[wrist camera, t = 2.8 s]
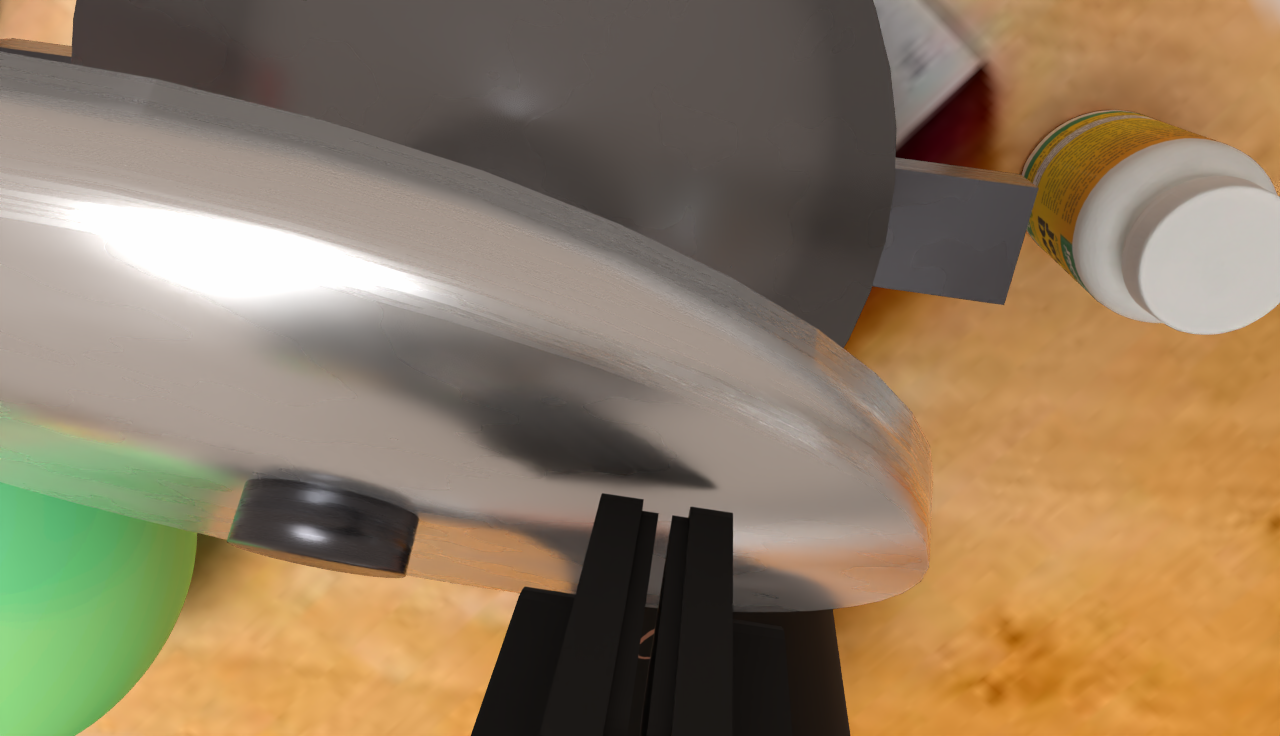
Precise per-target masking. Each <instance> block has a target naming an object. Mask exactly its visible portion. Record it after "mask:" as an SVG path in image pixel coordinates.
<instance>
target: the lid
mask: <svg viewBox="0 0 1280 736" xmlns="http://www.w3.org/2000/svg"><path fill="white" fill-rule="evenodd" d="M0 482H1V483H5V484H9V485H12V486H16V487H19V488H23V489H26V490H30V491H33V492H37V493H41V494H44V495H48V496H52V497H56V498H59V499H63V500H67V501H71V502H74V503H78V504H82V505H86V506H89V507H93V508H97V509H101V510H105V511H109V512H113V513H117V514H121V515H125V516H129V517H133V518H137V519H141V520H145V521H149V522H153V523H157V524H161V525H166V526H170V527H174V528H178V529H183V530H187V531H191V532H195V533H199V534H204V535H208V536H213V537H217V538H222V539H226V540H227V542H228V543H229V544H231V545H233V546H236V547H238V548H241V549H244V550H247V551H250V552H253V553H257V554H260V555H264V556H268V557H272V558H276V559H280V560H284V561H288V562H293V563H297V564H302V565H307V566H311V567H317V568H322V569H327V570H333V571H338V572H344V573H351V574H358V575H365V576H373V577H384V578H403V577H405V576H406V575H407V576H413V577H419V578H425V579H431V580H437V581H443V582H449V583H455V584H462V585H468V586H475V587H481V588H488V589H495V590H502V591H509V592H516V593H521V591H522V589H523V588H524V587H532V588H538V589H544V590H551V591H557V592H564V593H570V594H576V591H577V587H578V583H579V579H580V575H581V571H582V567H583V563H584V560H585V556H586V552H587V548H588V544H589V540H590V536H591V532H592V528H593V525H594V521H595V517H596V513H597V509H598V505H599V501H600V497H601V494H602V493H605V494H612V495H618V496H625V497H631V498H638V499H644V502H643V510H642V511H648V512H654V513H659V515H658V522H657V529H656V536H655V543H654V550H653V557H652V564H651V571H650V578H649V585H648V592H647V599H646V606H645V607H652V608H658V604H659V598H660V591H661V585H662V578H663V572H664V565H665V559H666V552H667V546H668V539H669V533H670V526H671V520H672V515H674V516H681V517H687V518H688V516H689V511H690V507H698V508H704V509H711V510H718V511H724V512H731V513H733V612H794V611H816V610H826V609H836V608H845V607H852V606H857V605H863V604H868V603H873V602H878V601H881V600H884V599H887V598H890V597H893V596H896V595H899V594H902V593H904V592H905V591H907V590H909V589H910V588H912V587H913V586H915V585H916V584H918V583H919V582H921V580H922V578H923V576H924V575H925V573H926V571H927V569H928V568H929V557H930V533H931V508H932V484H933V469H932V460H931V450H930V445H929V443H928V441H927V439H926V437H925V435H924V434H923V432H922V430H921V428H920V426H919V424H918V422H917V421H916V419H915V417H914V415H913V413H912V412H911V411H910V410H909V409H908V408H907V407H906V405H905V404H904V403H903V402H902V401H901V400H900V399H899V398H898V397H897V396H896V395H895V394H894V393H893V391H892V390H891V389H890V388H889V387H888V386H887V385H886V384H885V383H884V382H883V381H882V380H881V378H880V377H879V376H878V375H877V374H876V373H874V372H873V371H872V370H871V369H869V368H868V367H867V366H865V365H864V364H863V363H861V362H860V361H859V360H858V359H856V358H855V357H854V356H852V355H851V354H850V353H848V352H847V351H846V350H845V349H843V348H842V347H841V346H839V345H838V344H837V343H835V342H834V341H833V340H832V339H830V338H829V337H828V336H826V335H825V334H824V333H822V332H821V331H820V330H819V329H817V328H816V327H814V326H812V325H810V324H809V323H807V322H805V321H804V320H802V319H800V318H799V317H797V316H795V315H794V314H792V313H790V312H789V311H787V310H785V309H784V308H782V307H780V306H779V305H777V304H775V303H774V302H772V301H770V300H768V299H767V298H765V297H763V296H762V295H760V294H758V293H757V292H755V291H753V290H752V289H750V288H748V287H747V286H745V285H743V284H742V283H740V282H738V281H737V280H735V279H733V278H731V277H729V276H727V275H725V274H723V273H721V272H719V271H717V270H715V269H712V268H710V267H708V266H706V265H704V264H702V263H700V262H698V261H696V260H694V259H692V258H690V257H687V256H685V255H683V254H681V253H679V252H677V251H675V250H673V249H671V248H669V247H667V246H665V245H662V244H660V243H658V242H656V241H654V240H652V239H650V238H648V237H646V236H644V235H642V234H639V233H637V232H635V231H633V230H631V229H629V228H627V227H625V226H623V225H621V224H618V223H616V222H613V221H610V220H608V219H605V218H603V217H600V216H598V215H595V214H593V213H590V212H587V211H585V210H582V209H580V208H577V207H575V206H572V205H570V204H567V203H565V202H562V201H559V200H557V199H554V198H552V197H549V196H547V195H544V194H542V193H539V192H536V191H534V190H531V189H529V188H526V187H524V186H521V185H519V184H516V183H513V182H511V181H508V180H506V179H503V178H501V177H498V176H496V175H493V174H490V173H488V172H485V171H483V170H480V169H476V168H473V167H470V166H467V165H464V164H461V163H457V162H454V161H451V160H448V159H445V158H442V157H439V156H435V155H432V154H429V153H426V152H423V151H420V150H416V149H413V148H410V147H407V146H404V145H401V144H397V143H394V142H391V141H388V140H385V139H382V138H379V137H375V136H372V135H369V134H366V133H363V132H360V131H356V130H353V129H350V128H347V127H344V126H341V125H337V124H334V123H331V122H328V121H325V120H321V119H317V118H313V117H309V116H305V115H301V114H297V113H292V112H288V111H284V110H280V109H276V108H272V107H268V106H264V105H260V104H256V103H252V102H248V101H244V100H240V99H236V98H232V97H228V96H224V95H220V94H216V93H211V92H207V91H203V90H199V89H195V88H191V87H187V86H183V85H179V84H175V83H171V82H167V81H163V80H159V79H154V78H148V77H143V76H137V75H131V74H125V73H120V72H114V71H108V70H103V69H97V68H91V67H85V66H80V65H74V64H68V63H63V62H57V61H51V60H45V59H40V58H34V57H28V56H23V55H17V54H11V53H6V52H0Z"/></svg>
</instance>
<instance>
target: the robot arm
mask: <svg viewBox="0 0 1280 736" xmlns="http://www.w3.org/2000/svg"><path fill="white" fill-rule="evenodd" d="M643 502H644V499H638V498H631V497H625V496H618V495H612V494H605V493H602V494H601V497H600V501H599V505H598V509H597V513H596V517H595V521H594V525H593V528H592V532H591V536H590V540H589V544H588V548H587V552H586V556H585V560H584V563H583V567H582V571H581V575H580V579H579V583H578V587H577V591H576V594H570V593H564V592H557V591H551V590H544V589H538V588H532V587H524V588H523V589H522V591H521V593H520V596H519V598H518V601H517V604H516V607H515V610H514V613H513V615H512V618H511V621H510V624H509V627H508V630H507V633H506V636H505V639H504V641H503V644H502V647H501V650H500V653H499V656H498V659H497V662H496V664H495V667H494V670H493V673H492V676H491V679H490V682H489V685H488V688H487V690H486V693H485V696H484V699H483V702H482V705H481V708H480V711H479V714H478V716H477V719H476V722H475V725H474V728H473V731H472V734H471V736H627V733H628V726H629V719H630V712H631V705H632V698H633V691H634V683H635V676H636V669H637V662H638V655H639V648H640V641H641V634H642V627H643V620H644V613H645V606H646V599H647V592H648V585H649V578H650V571H651V564H652V557H653V550H654V543H655V536H656V529H657V522H658V515H659V513H654V512H648V511H642V510H643ZM640 736H792V725H791V711H790V698H789V684H788V671H787V657H786V643H785V635H784V630H783V628H782V627H781V626H775V625H769V624H762V623H756V622H749V621H743V620H737V619H733V513H731V512H724V511H718V510H711V509H704V508H698V507H690V511H689V516H688V518H687V517H681V516H674V515H672V520H671V526H670V533H669V539H668V546H667V552H666V559H665V565H664V572H663V578H662V585H661V591H660V598H659V604H658V611H657V617H656V624H655V630H654V637H653V644H652V650H651V657H650V663H649V670H648V676H647V683H646V690H645V697H644V705H643V712H642V720H641V728H640Z"/></svg>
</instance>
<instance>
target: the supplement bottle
mask: <svg viewBox="0 0 1280 736" xmlns="http://www.w3.org/2000/svg"><path fill="white" fill-rule="evenodd" d="M1022 176H1023V177H1025V178H1026V179H1027V180H1029V181H1030V182H1031V183H1033V184H1034V185H1035V186H1037V187H1038V188H1039V189H1038V192H1037V196H1036V199H1035V202H1034V206H1033V209H1032V213H1031V216H1030V219H1029V223H1028V226H1027V229H1026V230H1027V232H1028V233H1029V235H1030V236H1031V237H1032V239H1033V240H1034V241H1035V242H1036V243H1037V244H1038V245H1039V246H1040V247H1041V248H1042V249H1043V250H1044V251H1046V252H1047V253H1048V254H1049V255H1050V256H1051V257H1052V258H1053V259H1054V260H1055V261H1056V262H1057V263H1058V264H1059V265H1060V266H1062V268H1063V269H1064V270H1065V271H1067V272H1068V274H1070V275H1071V276H1072V277H1073V278H1074V279H1075V280H1076V281H1077V282H1078V283H1079V284H1080V285H1081V286H1082V287H1083V288H1084V289H1085V290H1086V291H1088V292H1089V293H1090V294H1091V295H1092V296H1093V297H1094V298H1095V299H1096V300H1097V301H1098V302H1100V303H1101V304H1103V305H1104V306H1106V307H1107V308H1109V309H1110V310H1112V311H1114V312H1116V313H1118V314H1120V315H1122V316H1125V317H1127V318H1130V319H1134V320H1138V321H1143V322H1150V323H1164V324H1166V325H1167V326H1169V327H1171V328H1173V329H1176V330H1178V331H1182V332H1187V333H1191V334H1201V335H1211V334H1221V333H1226V332H1231V331H1234V330H1237V329H1240V328H1242V327H1245V326H1247V325H1249V324H1251V323H1253V322H1255V321H1257V320H1258V319H1260V318H1261V317H1263V316H1264V315H1266V314H1267V313H1269V312H1270V311H1271V310H1272V309H1273V308H1275V307H1276V306H1277V305H1278V304H1279V303H1280V197H1279V196H1278V195H1277V193H1276V191H1275V188H1274V186H1273V184H1272V182H1271V180H1270V178H1269V177H1268V175H1267V174H1266V173H1265V171H1264V170H1263V169H1262V168H1261V167H1260V166H1259V165H1258V164H1257V163H1256V162H1255V161H1254V160H1253V159H1252V158H1251V157H1249V156H1248V155H1246V154H1245V153H1243V152H1241V151H1240V150H1238V149H1236V148H1234V147H1231V146H1229V145H1227V144H1224V143H1221V142H1218V141H1215V140H1212V139H1210V138H1207V137H1204V136H1201V135H1198V134H1195V133H1192V132H1189V131H1186V130H1183V129H1181V128H1178V127H1175V126H1172V125H1169V124H1167V123H1164V122H1161V121H1158V120H1155V119H1153V118H1150V117H1147V116H1145V115H1141V114H1138V113H1134V112H1130V111H1123V110H1106V111H1097V112H1092V113H1088V114H1084V115H1081V116H1078V117H1076V118H1073V119H1071V120H1069V121H1067V122H1065V123H1064V124H1062V125H1060V126H1058V127H1057V128H1056V129H1055V130H1053V131H1052V132H1051V133H1049V134H1048V135H1047V136H1046V137H1045V138H1044V139H1043V140H1042V141H1041V142H1040V143H1039V144H1038V146H1037V147H1036V148H1035V149H1034V151H1033V152H1032V153H1031V155H1030V156H1029V158H1028V160H1027V162H1026V163H1025V166H1024V169H1023V172H1022Z"/></svg>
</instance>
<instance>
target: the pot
mask: <svg viewBox="0 0 1280 736" xmlns="http://www.w3.org/2000/svg"><path fill="white" fill-rule="evenodd" d="M0 52H6V53H11V54H17V55H23V56H28V57H34V58H40V59H45V60H51V61H57V62H63V63H68V64H74V65H80V66H85V67H91V68H97V69H103V70H108V71H114V72H120V73H125V74H131V75H137V76H143V77H148V78H154V79H159V80H163V81H167V82H171V83H175V84H179V85H183V86H187V87H191V88H195V89H199V90H203V91H207V92H211V93H216V94H220V95H224V96H228V97H232V98H236V99H240V100H244V101H248V102H252V103H256V104H260V105H264V106H268V107H272V108H276V109H280V110H284V111H288V112H292V113H297V114H301V115H305V116H309V117H313V118H317V119H321V120H325V121H328V122H331V123H334V124H337V125H341V126H344V127H347V128H350V129H353V130H356V131H360V132H363V133H366V134H369V135H372V136H375V137H379V138H382V139H385V140H388V141H391V142H394V143H397V144H401V145H404V146H407V147H410V148H413V149H416V150H420V151H423V152H426V153H429V154H432V155H435V156H439V157H442V158H445V159H448V160H451V161H454V162H457V163H461V164H464V165H467V166H470V167H473V168H476V169H480V170H483V171H485V172H488V173H490V174H493V175H496V176H498V177H501V178H503V179H506V180H508V181H511V182H513V183H516V184H519V185H521V186H524V187H526V188H529V189H531V190H534V191H536V192H539V193H542V194H544V195H547V196H549V197H552V198H554V199H557V200H559V201H562V202H565V203H567V204H570V205H572V206H575V207H577V208H580V209H582V210H585V211H587V212H590V213H593V214H595V215H598V216H600V217H603V218H605V219H608V220H610V221H613V222H616V223H618V224H621V225H623V226H625V227H627V228H629V229H631V230H633V231H635V232H637V233H639V234H642V235H644V236H646V237H648V238H650V239H652V240H654V241H656V242H658V243H660V244H662V245H665V246H667V247H669V248H671V249H673V250H675V251H677V252H679V253H681V254H683V255H685V256H687V257H690V258H692V259H694V260H696V261H698V262H700V263H702V264H704V265H706V266H708V267H710V268H712V269H715V270H717V271H719V272H721V273H723V274H725V275H727V276H729V277H731V278H733V279H735V280H737V281H738V282H740V283H742V284H743V285H745V286H747V287H748V288H750V289H752V290H753V291H755V292H757V293H758V294H760V295H762V296H763V297H765V298H767V299H768V300H770V301H772V302H774V303H775V304H777V305H779V306H780V307H782V308H784V309H785V310H787V311H789V312H790V313H792V314H794V315H795V316H797V317H799V318H800V319H802V320H804V321H805V322H807V323H809V324H810V325H812V326H814V327H816V328H817V329H819V330H820V331H821V332H822V333H824V334H825V335H826V336H828V337H829V338H830V339H832V340H833V341H834V342H835V343H837V344H838V345H839V346H841V347H842V348H844V346H845V345H846V343H847V341H848V340H849V337H850V335H851V333H852V331H853V329H854V327H855V324H856V322H857V320H858V318H859V316H860V313H861V311H862V309H863V307H864V305H865V303H866V300H867V298H868V296H869V294H870V291H871V288H872V286H874V287H882V288H889V289H896V290H903V291H910V292H917V293H924V294H931V295H938V296H945V297H952V298H959V299H966V300H973V301H980V302H987V303H994V304H1001V305H1004V303H1005V300H1006V297H1007V293H1008V290H1009V286H1010V283H1011V280H1012V276H1013V273H1014V270H1015V266H1016V263H1017V260H1018V256H1019V253H1020V249H1021V246H1022V243H1023V239H1024V236H1025V233H1026V229H1027V226H1028V223H1029V219H1030V216H1031V213H1032V209H1033V206H1034V202H1035V199H1036V196H1037V192H1038V189H1039V188H1038V187H1037V186H1035V185H1034V184H1033V183H1031V182H1030V181H1029V180H1027V179H1026V178H1025V177H1023V176H1022V175H1020V174H1014V173H1006V172H999V171H991V170H984V169H977V168H969V167H962V166H954V165H947V164H940V163H932V162H925V161H917V160H910V159H903V158H895V157H896V120H895V111H894V101H893V92H892V82H891V73H890V66H889V62H888V58H887V54H886V50H885V45H884V41H883V37H882V33H881V29H880V25H879V21H878V16H877V12H876V8H875V6H874V3H873V0H77V1H76V7H75V12H74V18H73V37H72V46H66V45H58V44H51V43H43V42H36V41H29V40H21V39H14V38H11V39H0Z"/></svg>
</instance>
